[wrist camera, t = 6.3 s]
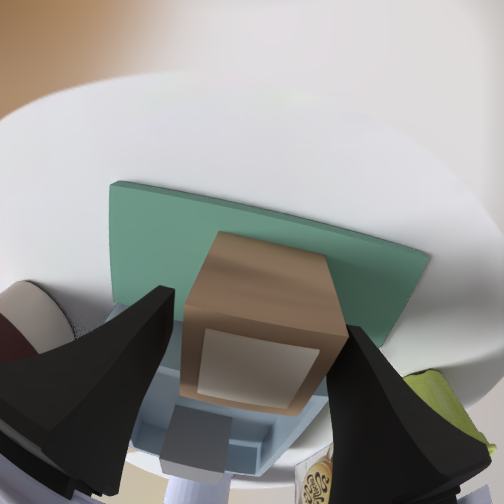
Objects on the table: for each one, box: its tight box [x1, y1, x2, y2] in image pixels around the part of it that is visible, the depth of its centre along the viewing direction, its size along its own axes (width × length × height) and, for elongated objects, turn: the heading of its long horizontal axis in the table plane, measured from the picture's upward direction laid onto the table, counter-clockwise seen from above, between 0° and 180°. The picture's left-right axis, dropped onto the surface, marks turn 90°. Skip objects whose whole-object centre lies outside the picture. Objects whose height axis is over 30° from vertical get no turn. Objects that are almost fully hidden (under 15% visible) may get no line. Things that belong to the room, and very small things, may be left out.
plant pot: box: [403, 370, 497, 456], centre depth 13 cm, size 9×9×9 cm
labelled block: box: [180, 231, 349, 417], centre depth 10 cm, size 4×4×5 cm
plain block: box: [159, 404, 233, 485], centre depth 17 cm, size 4×4×5 cm
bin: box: [103, 303, 329, 477], centre depth 17 cm, size 15×12×4 cm
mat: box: [109, 181, 429, 349], centre depth 13 cm, size 6×15×1 cm, turn 78°
